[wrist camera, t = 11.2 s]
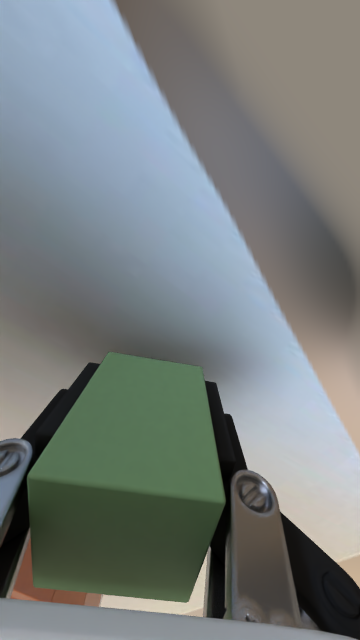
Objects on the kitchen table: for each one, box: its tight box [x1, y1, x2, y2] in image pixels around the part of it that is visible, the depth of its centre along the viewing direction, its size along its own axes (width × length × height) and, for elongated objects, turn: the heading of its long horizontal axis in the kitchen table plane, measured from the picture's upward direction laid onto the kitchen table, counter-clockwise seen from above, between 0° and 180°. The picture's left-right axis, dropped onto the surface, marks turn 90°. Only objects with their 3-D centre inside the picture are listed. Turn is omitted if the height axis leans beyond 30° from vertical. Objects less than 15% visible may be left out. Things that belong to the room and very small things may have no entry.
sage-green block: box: [27, 352, 226, 603], centre depth 8 cm, size 4×4×6 cm
